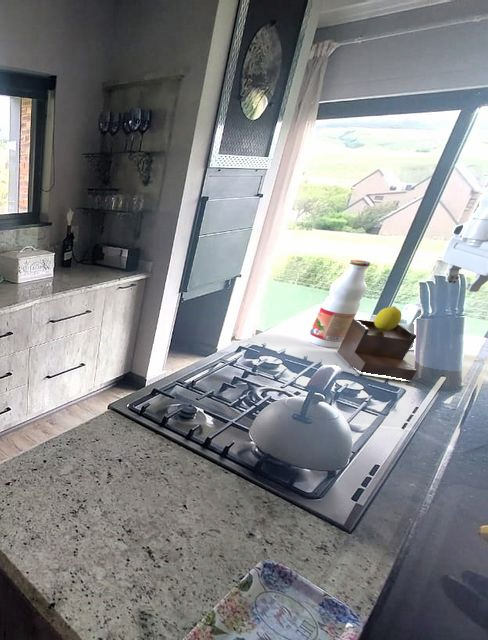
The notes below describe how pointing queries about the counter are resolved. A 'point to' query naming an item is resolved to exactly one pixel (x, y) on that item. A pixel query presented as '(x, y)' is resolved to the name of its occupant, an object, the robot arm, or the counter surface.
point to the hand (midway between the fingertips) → (460, 286)
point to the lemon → (387, 318)
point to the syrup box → (410, 317)
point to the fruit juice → (340, 306)
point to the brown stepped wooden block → (378, 349)
